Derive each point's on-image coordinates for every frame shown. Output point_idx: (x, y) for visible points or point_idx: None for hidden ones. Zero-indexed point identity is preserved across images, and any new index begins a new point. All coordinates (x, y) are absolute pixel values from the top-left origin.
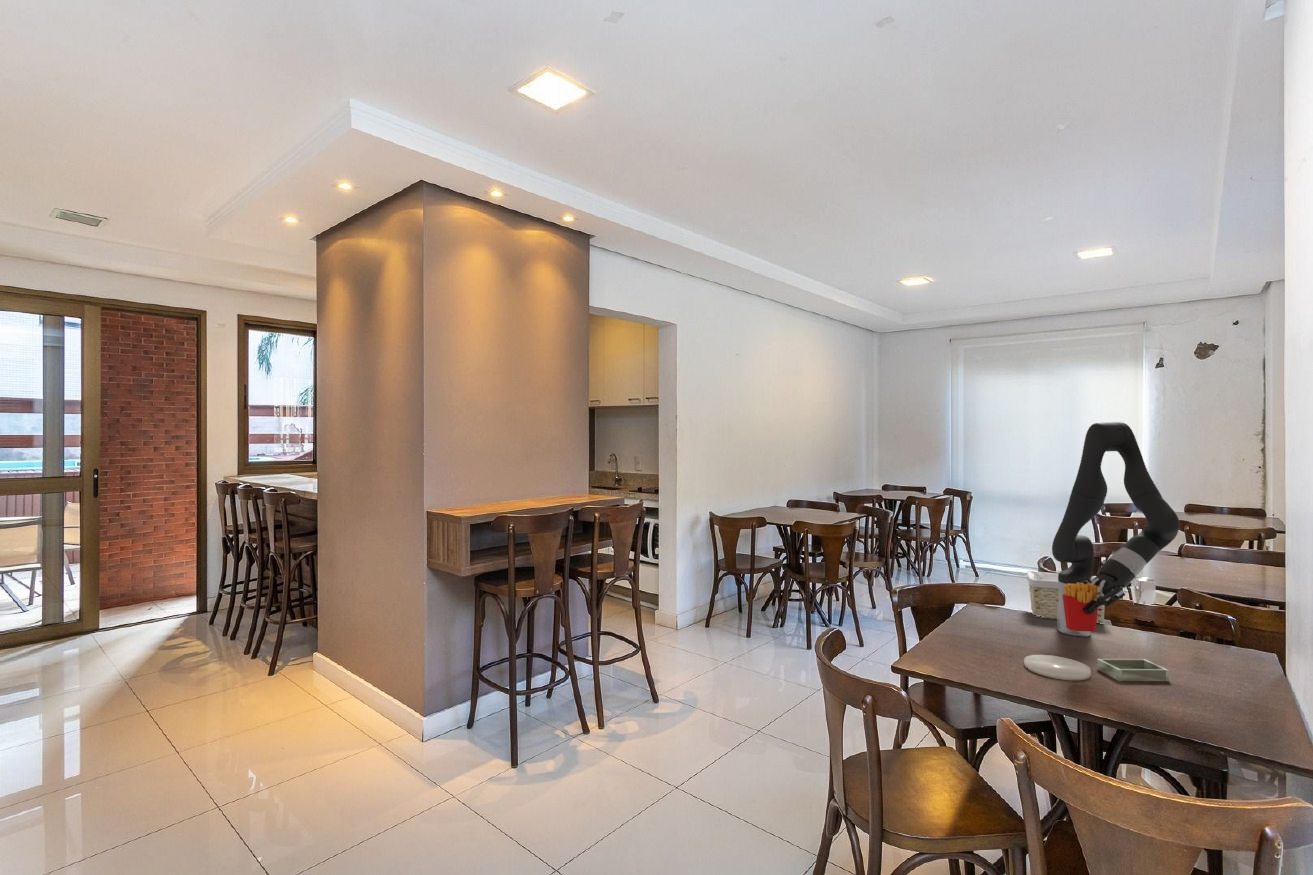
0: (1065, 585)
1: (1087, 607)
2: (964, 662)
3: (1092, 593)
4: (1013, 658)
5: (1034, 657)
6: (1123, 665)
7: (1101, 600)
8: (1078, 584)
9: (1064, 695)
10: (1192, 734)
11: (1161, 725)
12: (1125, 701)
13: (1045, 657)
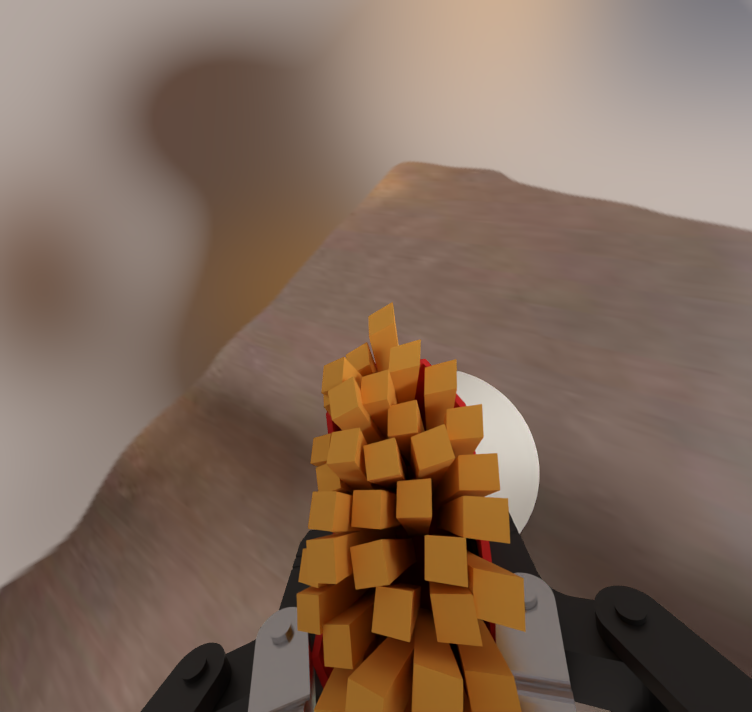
0: (380, 319)
1: (317, 535)
2: (441, 248)
3: (327, 648)
4: (515, 366)
5: (492, 410)
6: None
7: (190, 655)
8: (392, 475)
9: (242, 397)
10: (3, 596)
11: (60, 546)
12: (191, 544)
13: (504, 448)
